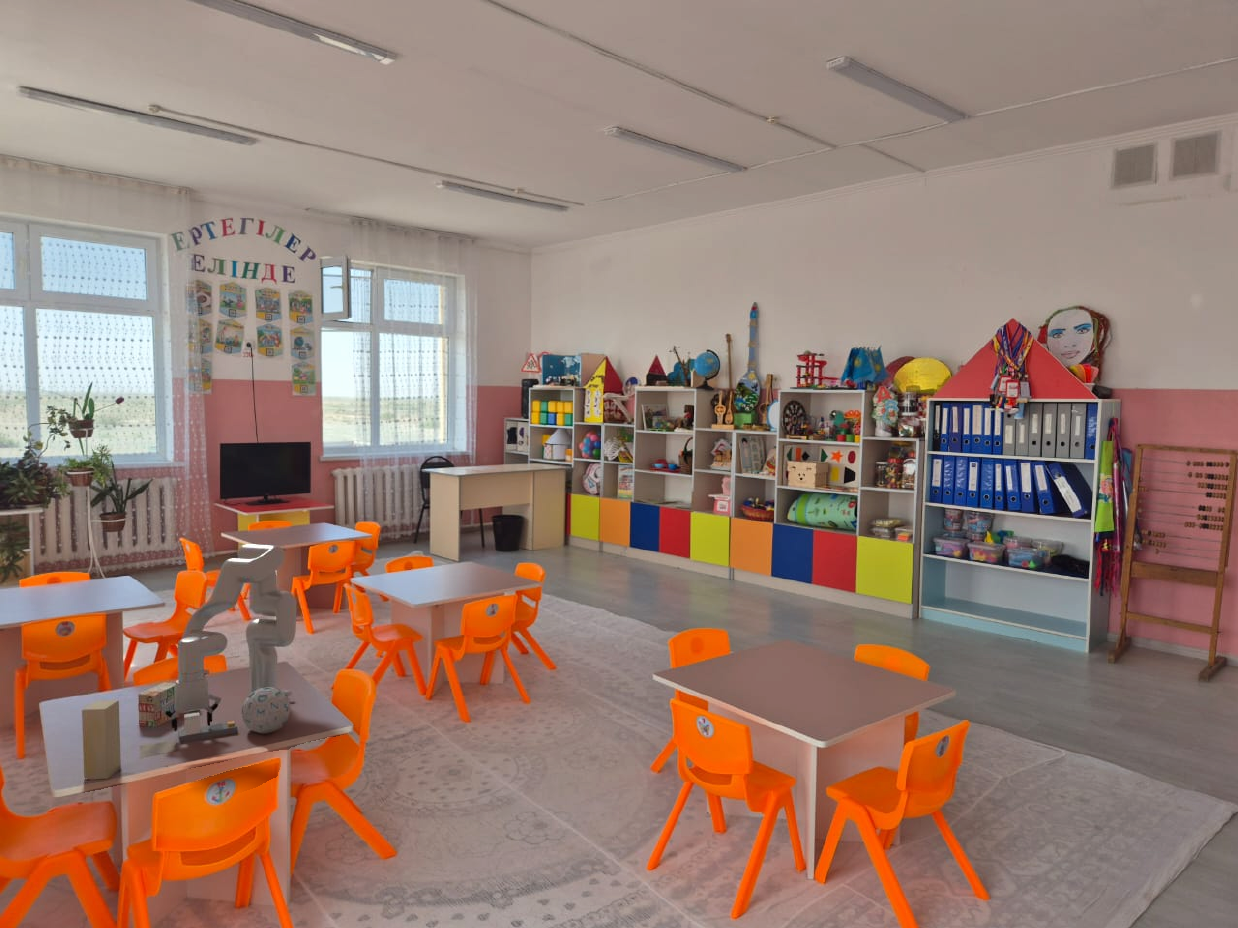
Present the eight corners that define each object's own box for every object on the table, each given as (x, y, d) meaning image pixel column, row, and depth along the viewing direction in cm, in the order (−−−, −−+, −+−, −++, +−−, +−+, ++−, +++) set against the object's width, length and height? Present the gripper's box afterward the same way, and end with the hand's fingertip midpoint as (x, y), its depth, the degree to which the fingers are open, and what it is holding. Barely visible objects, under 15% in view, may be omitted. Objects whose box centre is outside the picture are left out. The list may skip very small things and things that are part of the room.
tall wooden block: (95, 768, 249) (94, 700, 248) (121, 767, 250) (119, 699, 248) (81, 780, 241) (78, 709, 240) (107, 779, 242) (105, 709, 240)
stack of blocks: (183, 706, 301) (182, 673, 300) (198, 708, 300) (197, 675, 299) (138, 728, 280) (137, 693, 279) (154, 730, 279) (154, 694, 278)
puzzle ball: (292, 735, 275) (292, 692, 274) (242, 743, 269) (242, 698, 268) (288, 720, 289) (288, 678, 288) (241, 727, 282) (240, 684, 281)
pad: (175, 742, 268) (175, 739, 268) (176, 754, 260) (176, 750, 260) (139, 748, 263) (139, 745, 263) (140, 760, 255) (140, 757, 255)
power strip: (235, 729, 280) (234, 718, 280) (237, 735, 275) (236, 724, 275) (178, 739, 271) (178, 727, 271) (179, 745, 266) (179, 734, 266)
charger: (199, 732, 274) (199, 712, 274) (200, 738, 270) (200, 717, 269) (184, 735, 272) (184, 714, 272) (185, 741, 267) (185, 720, 267)
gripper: (219, 668, 277) (220, 718, 278) (160, 676, 268) (161, 727, 269) (221, 674, 271) (222, 725, 272) (161, 682, 262) (162, 735, 263)
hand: (192, 726), depth 271 cm, fingers open, 9 cm apart
